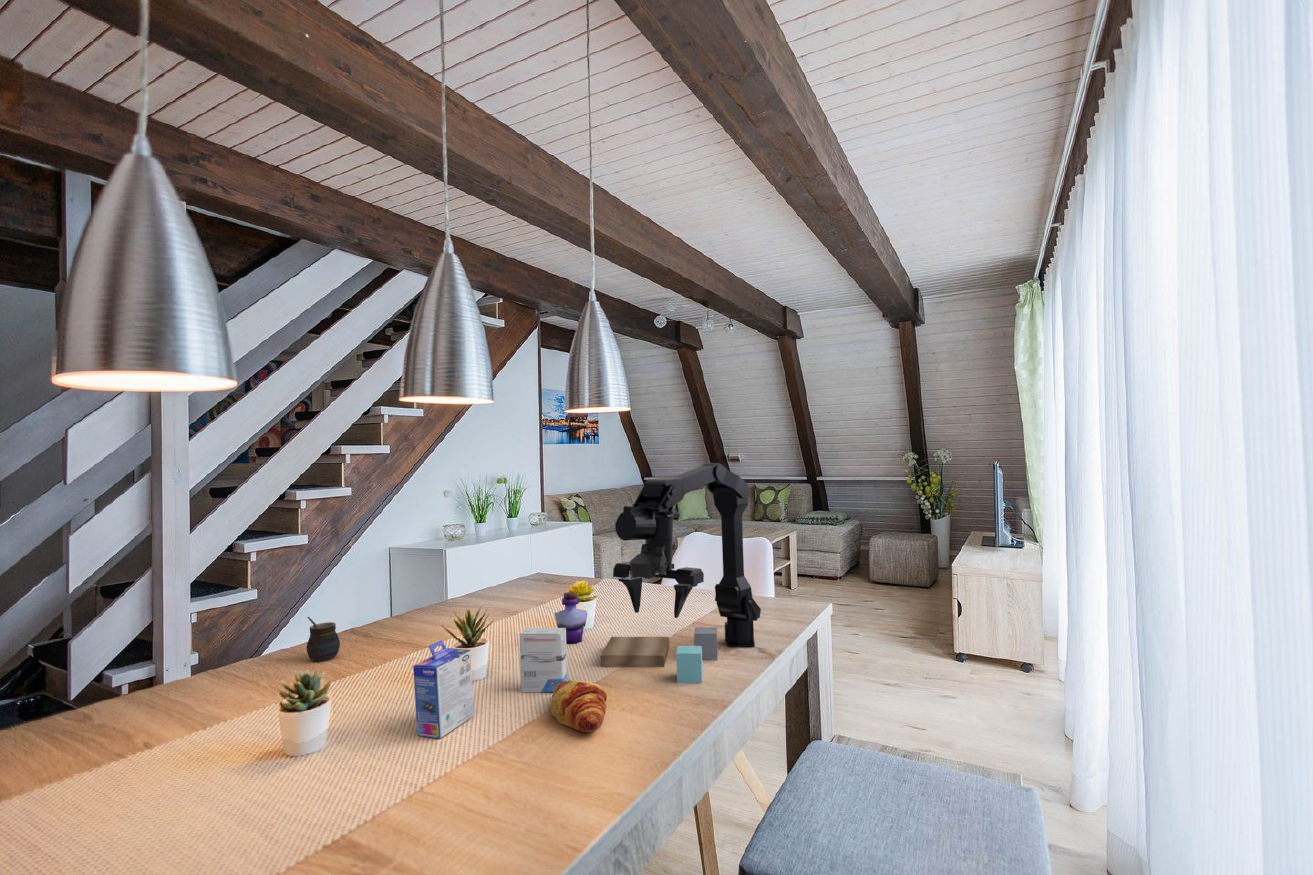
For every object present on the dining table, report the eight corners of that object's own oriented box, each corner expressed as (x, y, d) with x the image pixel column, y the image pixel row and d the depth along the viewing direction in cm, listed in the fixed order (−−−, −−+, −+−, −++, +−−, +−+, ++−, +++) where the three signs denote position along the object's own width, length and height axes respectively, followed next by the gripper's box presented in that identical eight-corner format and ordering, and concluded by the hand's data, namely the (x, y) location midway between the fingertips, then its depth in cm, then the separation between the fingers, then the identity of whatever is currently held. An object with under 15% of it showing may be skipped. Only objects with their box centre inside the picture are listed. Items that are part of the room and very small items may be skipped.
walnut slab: (669, 649, 157) (669, 636, 157) (664, 669, 143) (663, 655, 144) (611, 649, 159) (611, 636, 159) (600, 668, 145) (600, 655, 145)
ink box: (568, 684, 135) (566, 626, 135) (562, 693, 130) (561, 633, 130) (527, 683, 136) (526, 626, 136) (520, 692, 131) (518, 633, 131)
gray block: (717, 653, 152) (716, 627, 152) (717, 660, 147) (716, 633, 147) (695, 653, 152) (695, 627, 152) (694, 660, 147) (694, 633, 147)
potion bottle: (592, 636, 168) (591, 589, 169) (583, 646, 160) (581, 597, 160) (560, 635, 170) (559, 588, 170) (549, 645, 161) (547, 596, 162)
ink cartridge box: (449, 713, 122) (447, 634, 122) (475, 716, 120) (473, 636, 120) (413, 735, 112) (411, 650, 113) (440, 739, 111) (438, 653, 111)
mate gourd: (331, 663, 153) (329, 620, 153) (299, 664, 153) (297, 621, 153) (346, 653, 160) (344, 612, 160) (315, 654, 160) (314, 613, 160)
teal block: (702, 674, 138) (701, 645, 138) (701, 683, 133) (701, 653, 133) (678, 674, 139) (678, 645, 139) (677, 683, 134) (676, 653, 134)
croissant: (550, 716, 127) (530, 683, 126) (594, 684, 131) (574, 651, 130) (580, 761, 108) (556, 722, 107) (630, 722, 111) (607, 683, 110)
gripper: (600, 538, 135) (597, 615, 134) (683, 544, 127) (680, 627, 125) (627, 535, 145) (624, 608, 144) (705, 541, 136) (703, 618, 135)
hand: (656, 615), depth 137 cm, fingers open, 9 cm apart
